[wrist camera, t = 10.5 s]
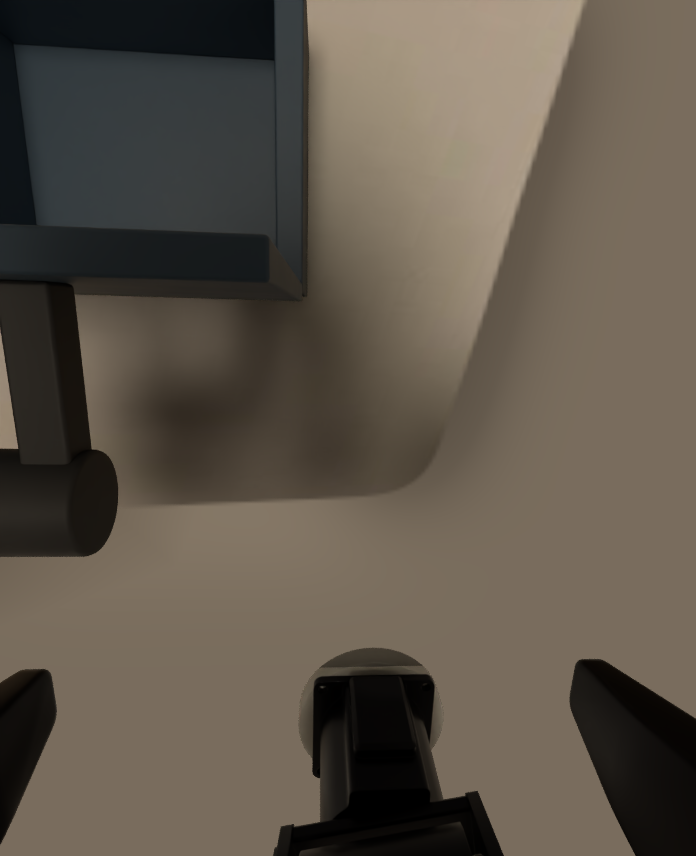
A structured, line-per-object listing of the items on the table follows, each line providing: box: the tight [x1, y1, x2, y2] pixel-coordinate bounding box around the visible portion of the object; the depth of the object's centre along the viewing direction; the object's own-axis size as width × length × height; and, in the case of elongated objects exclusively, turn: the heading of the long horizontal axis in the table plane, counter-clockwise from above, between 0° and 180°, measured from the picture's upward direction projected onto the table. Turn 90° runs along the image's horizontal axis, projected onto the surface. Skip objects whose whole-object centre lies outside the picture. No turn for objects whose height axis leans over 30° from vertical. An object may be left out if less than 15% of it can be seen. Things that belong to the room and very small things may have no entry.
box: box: [0, 0, 309, 297], centre depth 15 cm, size 9×11×5 cm
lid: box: [0, 224, 302, 557], centre depth 10 cm, size 9×11×4 cm
